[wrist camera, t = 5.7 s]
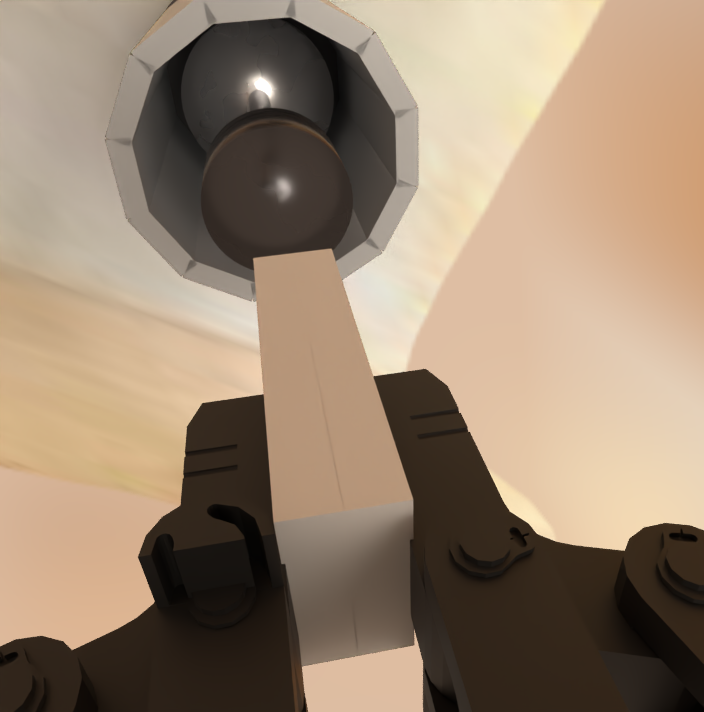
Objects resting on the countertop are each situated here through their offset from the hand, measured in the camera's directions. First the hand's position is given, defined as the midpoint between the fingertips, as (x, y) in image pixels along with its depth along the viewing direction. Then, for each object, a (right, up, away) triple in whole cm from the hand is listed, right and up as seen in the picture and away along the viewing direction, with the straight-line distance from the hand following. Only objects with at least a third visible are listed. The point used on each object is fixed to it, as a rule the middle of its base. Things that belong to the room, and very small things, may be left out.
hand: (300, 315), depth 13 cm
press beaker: (-4, +13, +23) cm, 26 cm away
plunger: (-4, +12, +18) cm, 22 cm away
